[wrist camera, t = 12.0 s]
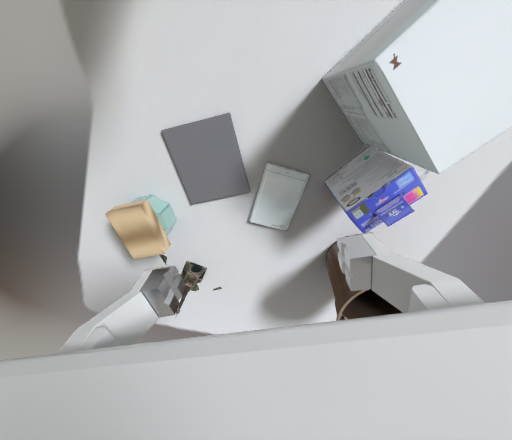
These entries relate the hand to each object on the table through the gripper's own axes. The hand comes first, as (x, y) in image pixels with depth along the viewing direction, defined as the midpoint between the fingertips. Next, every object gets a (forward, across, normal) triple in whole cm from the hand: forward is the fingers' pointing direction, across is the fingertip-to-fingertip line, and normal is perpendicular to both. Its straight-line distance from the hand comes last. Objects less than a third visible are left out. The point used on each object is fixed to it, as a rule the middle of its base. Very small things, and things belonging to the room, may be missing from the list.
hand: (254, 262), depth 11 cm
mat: (+31, +10, +1) cm, 33 cm away
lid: (+27, +25, +9) cm, 37 cm away
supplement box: (+31, -21, -6) cm, 38 cm away
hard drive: (+32, -1, +10) cm, 34 cm away
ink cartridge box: (+31, -15, +9) cm, 36 cm away
